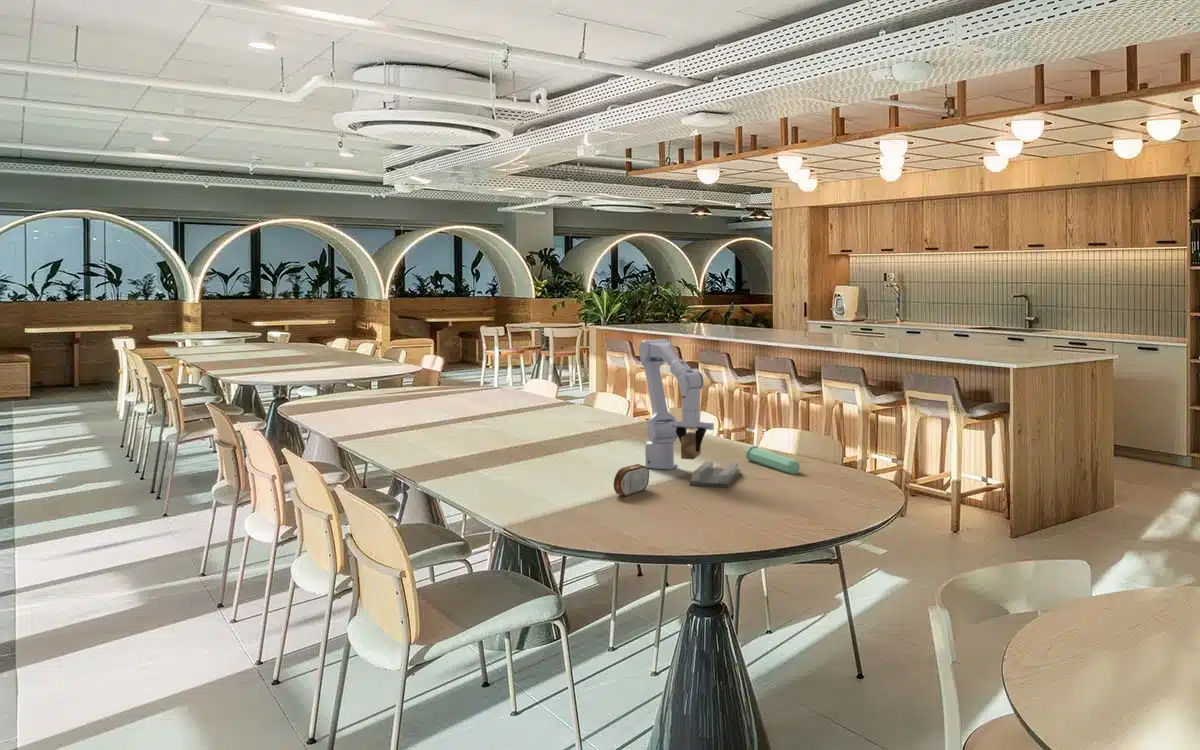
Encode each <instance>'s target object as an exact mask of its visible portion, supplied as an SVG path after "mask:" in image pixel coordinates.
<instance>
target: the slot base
mask: <svg viewBox="0 0 1200 750" xmlns="http://www.w3.org/2000/svg"><path fill="white" fill-rule="evenodd" d="M739 473H740V474H741V469H740V468H739V462H734V461H733V462H731V461H730V462H729V463H728V465H727V466H726V467H725V468H722V467H721V468H720V467H714V461H713V460H705V461H704V462H703V463H701V465H699V466H698V467H697V468H696V469H695V470H694V471H693V472H692V473H691V479H690V480H689V482H688V484H689V486H693V485H694V487H695V486H696V487H697V486H698V487H710V488H711V486H712V487H713V488H724V487H727V488H728V487H730V486H731V485H732V483H733V482H734V481H735V480H736V478H737V477H738V476H739V475H740V474H739ZM734 479H735V480H734ZM733 480H734V481H733ZM732 481H733V482H732ZM731 482H732V483H731Z"/></svg>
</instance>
